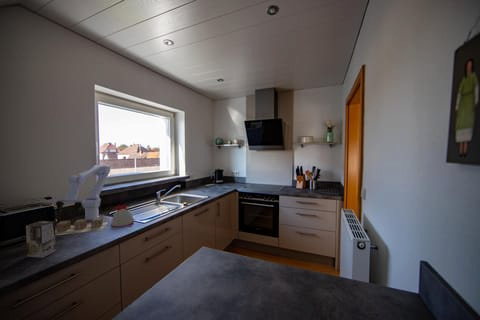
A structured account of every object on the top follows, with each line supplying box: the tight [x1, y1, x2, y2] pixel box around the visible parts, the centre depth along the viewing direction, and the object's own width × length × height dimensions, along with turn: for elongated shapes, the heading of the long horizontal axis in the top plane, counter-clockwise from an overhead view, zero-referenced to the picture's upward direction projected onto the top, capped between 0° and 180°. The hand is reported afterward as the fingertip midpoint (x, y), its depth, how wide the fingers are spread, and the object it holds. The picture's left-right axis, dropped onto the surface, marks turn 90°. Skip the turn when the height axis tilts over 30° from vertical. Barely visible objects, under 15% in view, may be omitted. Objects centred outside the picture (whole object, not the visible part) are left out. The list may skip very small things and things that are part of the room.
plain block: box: [55, 220, 71, 232], centre depth 118 cm, size 5×5×5 cm
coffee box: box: [25, 220, 57, 259], centre depth 92 cm, size 9×6×16 cm
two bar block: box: [90, 217, 104, 228], centre depth 125 cm, size 5×5×5 cm
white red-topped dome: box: [110, 204, 135, 228], centre depth 131 cm, size 14×14×15 cm
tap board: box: [55, 221, 110, 236], centre depth 121 cm, size 16×28×1 cm, turn 113°
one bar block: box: [73, 218, 88, 230], centre depth 121 cm, size 5×5×5 cm
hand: (66, 213), depth 117 cm, fingers open, 7 cm apart
